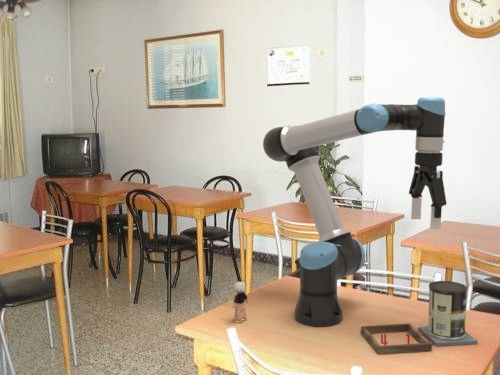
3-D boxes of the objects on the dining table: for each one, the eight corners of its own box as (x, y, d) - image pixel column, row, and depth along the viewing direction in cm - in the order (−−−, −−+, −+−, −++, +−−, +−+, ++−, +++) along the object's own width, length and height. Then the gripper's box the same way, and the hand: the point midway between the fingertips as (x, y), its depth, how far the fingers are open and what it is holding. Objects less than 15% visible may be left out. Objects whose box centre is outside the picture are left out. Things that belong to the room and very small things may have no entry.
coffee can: (461, 327, 160) (463, 281, 158) (468, 341, 150) (470, 292, 148) (425, 325, 162) (426, 279, 160) (429, 338, 152) (431, 290, 150)
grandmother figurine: (239, 316, 175) (239, 278, 173) (250, 317, 173) (250, 279, 172) (229, 324, 168) (228, 285, 166) (240, 326, 166) (239, 286, 165)
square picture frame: (360, 332, 160) (360, 326, 160) (409, 329, 162) (409, 323, 161) (378, 354, 145) (378, 347, 145) (431, 351, 147) (431, 344, 147)
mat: (418, 329, 161) (418, 326, 161) (456, 327, 163) (456, 324, 163) (436, 346, 150) (436, 343, 149) (477, 344, 151) (477, 340, 151)
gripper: (462, 155, 144) (457, 233, 147) (423, 148, 169) (420, 215, 172) (435, 155, 143) (431, 233, 146) (400, 148, 168) (397, 215, 171)
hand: (425, 223), depth 159 cm, fingers open, 13 cm apart
